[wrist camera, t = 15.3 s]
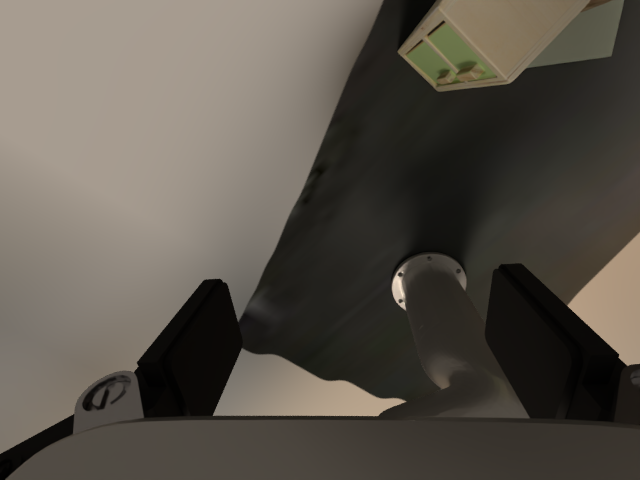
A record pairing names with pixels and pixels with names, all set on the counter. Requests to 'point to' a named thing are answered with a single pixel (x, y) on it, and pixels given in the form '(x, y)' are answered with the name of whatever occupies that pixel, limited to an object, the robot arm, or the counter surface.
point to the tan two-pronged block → (594, 4)
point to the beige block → (484, 39)
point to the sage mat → (584, 36)
